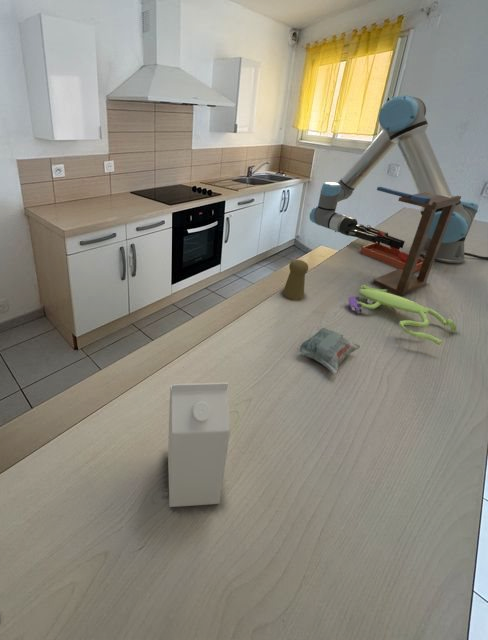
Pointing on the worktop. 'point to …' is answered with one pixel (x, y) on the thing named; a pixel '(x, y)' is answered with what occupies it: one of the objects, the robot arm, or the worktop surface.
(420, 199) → the blue spoon
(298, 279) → the cork
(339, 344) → the packaged food
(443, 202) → the slanted wooden stand
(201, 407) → the milk carton
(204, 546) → the worktop surface
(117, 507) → the worktop surface
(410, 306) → the figurine
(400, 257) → the red spoon
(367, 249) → the tray
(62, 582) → the worktop surface
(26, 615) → the worktop surface
